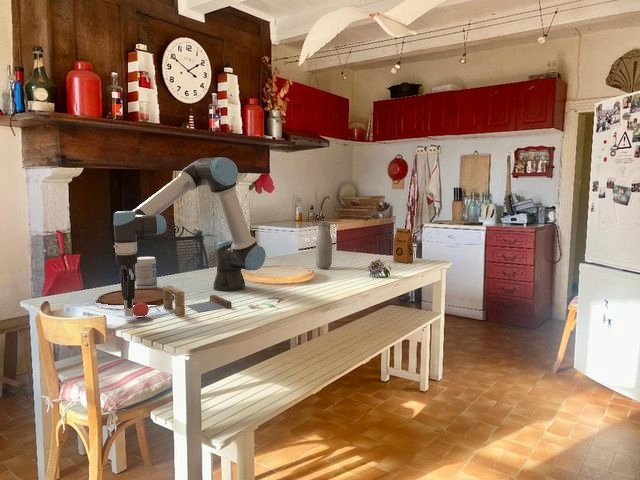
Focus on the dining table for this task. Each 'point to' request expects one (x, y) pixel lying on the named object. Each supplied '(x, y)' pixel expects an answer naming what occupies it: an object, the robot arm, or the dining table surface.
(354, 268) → the dining table surface
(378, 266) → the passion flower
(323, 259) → the grey bottle
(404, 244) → the coffee package
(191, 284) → the dining table surface
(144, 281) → the supplement tub
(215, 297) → the kerb
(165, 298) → the bridge
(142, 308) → the ball
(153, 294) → the cutting board
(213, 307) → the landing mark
